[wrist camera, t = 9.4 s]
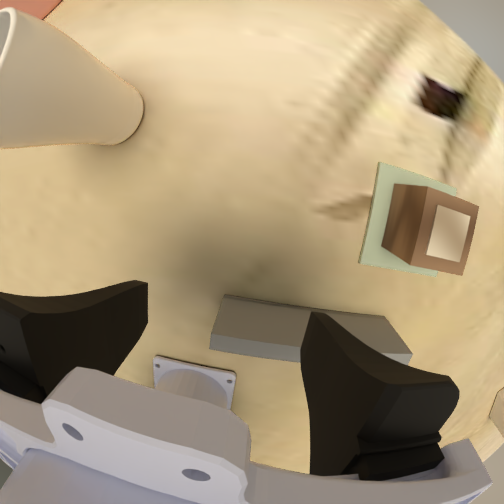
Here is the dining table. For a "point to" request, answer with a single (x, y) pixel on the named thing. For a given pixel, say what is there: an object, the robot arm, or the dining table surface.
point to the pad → (379, 214)
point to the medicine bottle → (498, 412)
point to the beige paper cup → (58, 89)
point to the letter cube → (429, 228)
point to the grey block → (293, 330)
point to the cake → (31, 6)
